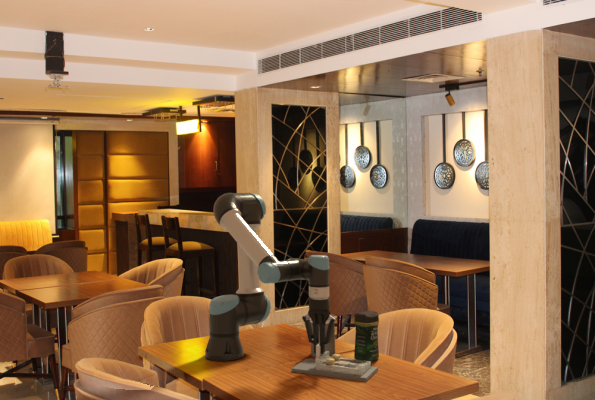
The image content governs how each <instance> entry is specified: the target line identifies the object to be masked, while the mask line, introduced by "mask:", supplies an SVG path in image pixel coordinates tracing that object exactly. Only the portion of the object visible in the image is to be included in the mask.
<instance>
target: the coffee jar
mask: <svg viewBox="0 0 595 400" xmlns="http://www.w3.org/2000/svg"><path fill="white" fill-rule="evenodd" d="M379 323H380V316H379V313H378V312H377V311H373V310H367V311H361V312H357V313H356V314H354V326H355V339H354V341H355V342H354V355H353V359H356V360H364V361H371V362H373V361H376V360H378V359H379V358H380V356H379V355H380V353H379V352H380V351H379V333H378V332H379V330H378V329H379Z"/></svg>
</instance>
